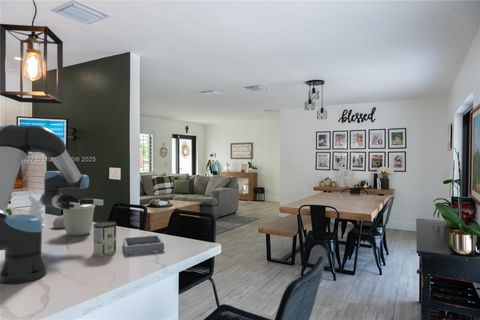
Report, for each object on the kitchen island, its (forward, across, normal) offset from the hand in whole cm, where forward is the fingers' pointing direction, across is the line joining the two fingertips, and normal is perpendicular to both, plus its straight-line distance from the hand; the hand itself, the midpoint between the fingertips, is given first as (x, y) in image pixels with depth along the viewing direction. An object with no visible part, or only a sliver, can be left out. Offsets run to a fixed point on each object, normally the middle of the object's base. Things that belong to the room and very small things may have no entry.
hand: (91, 204), depth 161 cm
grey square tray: (+21, -14, -23) cm, 34 cm away
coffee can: (+10, 0, -23) cm, 25 cm away
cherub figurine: (-74, -19, -23) cm, 80 cm away
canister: (-35, -19, -23) cm, 46 cm away
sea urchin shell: (-61, -28, -23) cm, 71 cm away
